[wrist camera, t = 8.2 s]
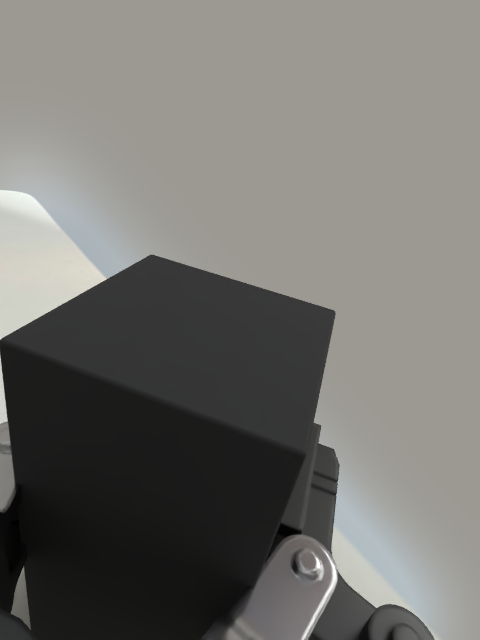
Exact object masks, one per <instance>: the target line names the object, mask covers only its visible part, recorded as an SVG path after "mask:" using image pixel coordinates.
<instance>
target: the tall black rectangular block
mask: <svg viewBox="0 0 480 640" xmlns="http://www.w3.org/2000/svg"><path fill="white" fill-rule="evenodd" d="M334 319H335V311H334V310H331V309H327V308H324V307H321V306H318V305H314V304H311V303H308V302H305V301H302V300H298V299H295V298H292V297H289V296H285V295H282V294H278V293H275V292H272V291H269V290H266V289H262V288H259V287H256V286H253V285H249V284H246V283H243V282H240V281H236V280H233V279H230V278H227V277H223V276H220V275H217V274H214V273H210V272H207V271H204V270H201V269H197V268H194V267H191V266H187V265H184V264H181V263H178V262H174V261H171V260H168V259H165V258H161V257H158V256H155V255H149V256H148V257H146V258H144V259H142V260H141V261H139V262H137V263H135V264H133V265H132V266H130V267H128V268H126V269H125V270H123V271H121V272H119V273H118V274H116V275H114V276H112V277H110V278H109V279H107V280H105V281H103V282H101V283H100V284H98V285H96V286H94V287H93V288H91V289H89V290H87V291H85V292H84V293H82V294H80V295H78V296H77V297H75V298H73V299H71V300H69V301H68V302H66V303H64V304H62V305H61V306H59V307H57V308H55V309H53V310H52V311H50V312H48V313H46V314H45V315H43V316H41V317H39V318H37V319H36V320H34V321H32V322H30V323H29V324H27V325H25V326H23V327H21V328H20V329H18V330H16V331H14V332H13V333H11V334H9V335H7V336H5V337H4V338H2V339H1V340H0V355H1V364H2V373H3V382H4V391H5V400H6V409H7V418H8V427H9V436H10V445H11V454H12V463H13V472H14V480H15V482H16V483H19V484H20V485H21V495H22V500H21V502H20V504H19V507H18V517H19V526H20V535H21V541H22V542H23V543H25V544H26V545H27V555H28V556H27V559H26V561H25V564H24V571H25V580H26V589H27V598H28V607H29V616H30V625H31V631H32V632H33V633H34V634H35V635H36V636H37V638H38V639H39V640H201V638H202V637H203V636H204V634H205V633H206V632H207V630H208V629H209V628H210V627H211V625H212V624H213V623H214V622H215V621H216V620H217V619H218V618H219V617H220V616H221V615H225V614H226V613H227V612H228V611H229V610H230V609H231V608H232V606H233V605H234V604H235V602H236V601H237V600H238V598H239V597H240V596H241V594H242V593H243V592H244V590H245V589H246V588H247V586H248V585H249V586H255V585H256V584H257V581H258V579H259V576H260V574H261V571H262V569H263V566H264V564H265V561H266V558H267V556H268V553H269V551H270V548H271V546H272V543H273V541H274V538H275V535H276V533H277V530H278V528H279V525H280V523H281V520H282V518H283V515H284V512H285V510H286V507H287V505H288V502H289V500H290V497H291V495H292V492H293V489H294V487H295V484H296V482H297V479H298V477H299V474H300V472H301V469H302V466H303V464H304V461H305V459H306V456H307V452H308V447H309V442H310V437H311V432H312V427H313V422H314V417H315V412H316V408H317V402H318V398H319V393H320V388H321V383H322V378H323V373H324V368H325V363H326V358H327V353H328V348H329V343H330V338H331V334H332V329H333V324H334Z"/></svg>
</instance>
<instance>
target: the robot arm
mask: <svg viewBox="0 0 480 640" xmlns="http://www.w3.org/2000/svg"><path fill="white" fill-rule="evenodd" d="M320 430H321V425H319V424H316V423H313V427H312V432H311V437H310V442H309V447H308V452H307V456H306V459H305V461H304V464H303V466H302V469H301V472H300V474H299V477H298V479H297V482H296V484H295V487H294V489H293V492H292V495H291V497H290V500H289V502H288V505H287V507H286V510H285V512H284V515H283V518H282V520H281V523H280V525H279V528H278V530H277V533H276V535H275V538H274V541H273V543H272V546H271V548H270V551H269V553H268V556H267V558H266V561H265V564H264V566H263V569H262V571H261V574H260V576H259V579H258V581H257V584H256V585H255V586H249V585H248V586H247V588H246V589H245V590H244V592H243V593H242V594H241V596H240V597H239V598H238V600H237V601H236V602H235V604H234V605H233V606H232V608H231V609H230V610H229V611H228V612H227V613H226V614H225V615H221V616H220V617H219V618H218V619H217V620H216V621H215V622H214V623H213V624H212V625H211V627H210V628H209V629H208V630H207V632H206V633H205V634H204V636H203V637H202V638H201V640H434V638H433V636H432V634H431V633H430V631H429V630H428V628H427V627H426V626H425V624H424V623H423V622H422V621H421V620H420V619H419V618H418V617H417V616H415V615H414V614H413V613H412V612H410V611H408V610H407V609H405V608H403V607H401V606H397V605H392V604H387V605H382V606H380V607H378V608H375V607H374V606H373V605H372V604H370V603H369V602H368V601H367V600H365V599H364V598H363V597H362V596H361V595H359V594H358V593H357V592H356V591H354V590H353V589H352V588H351V587H350V586H349V585H348V584H347V583H346V582H345V581H344V579H343V578H342V577H341V575H340V574H339V572H338V570H337V567H336V564H335V561H334V559H333V557H332V552H331V543H332V534H333V524H334V514H335V504H336V493H337V485H338V484H337V481H338V475H339V463H338V460H337V457H336V454H335V451H334V449H332V448H329V447H326V446H324V445H321V444H318V442H319V436H320ZM21 500H22V495H21V485H20V484H19V483H16V482H15V480H14V472H13V463H12V454H11V445H10V436H9V427H8V422H4V423H1V424H0V640H39V639H38V638H37V636H36V635H35V634H34V633H33V632H32V631H31V630H30V629H29V628H28V626H27V625H26V624H25V623H24V622H23V621H22V620H21V619H20V618H18V617H16V616H14V615H12V614H10V613H11V610H12V605H13V600H14V593H15V588H16V585H17V582H18V579H19V576H20V574H21V571H22V569H23V566H24V564H25V561H26V559H27V556H28V555H27V545H26V544H25V543H23V542H22V541H21V535H20V526H19V517H18V507H19V504H20V502H21Z"/></svg>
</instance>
